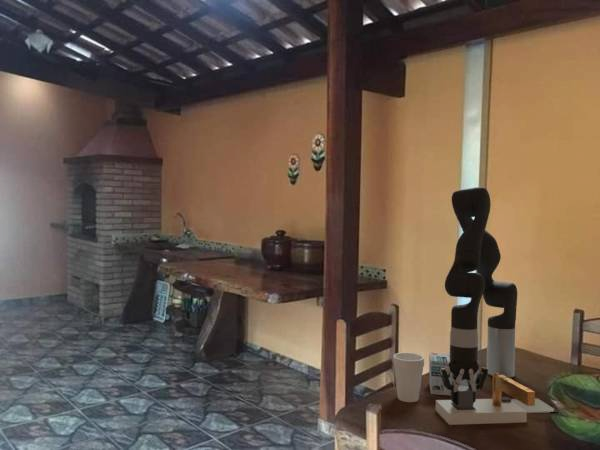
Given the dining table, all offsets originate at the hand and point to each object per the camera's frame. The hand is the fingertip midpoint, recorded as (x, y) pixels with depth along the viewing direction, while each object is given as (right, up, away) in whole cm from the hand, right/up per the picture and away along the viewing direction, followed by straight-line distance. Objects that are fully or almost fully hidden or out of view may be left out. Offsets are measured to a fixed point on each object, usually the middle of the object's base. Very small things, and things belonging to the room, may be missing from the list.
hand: (462, 403), depth 139 cm
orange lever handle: (+11, -1, -6) cm, 13 cm away
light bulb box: (0, -4, +22) cm, 22 cm away
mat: (+23, -4, +8) cm, 25 cm away
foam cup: (-12, -4, +14) cm, 19 cm away
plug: (0, -4, 0) cm, 4 cm away
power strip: (+5, -4, +1) cm, 6 cm away
